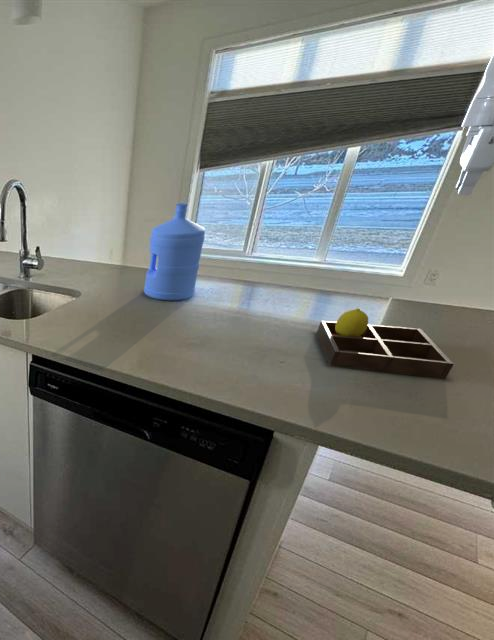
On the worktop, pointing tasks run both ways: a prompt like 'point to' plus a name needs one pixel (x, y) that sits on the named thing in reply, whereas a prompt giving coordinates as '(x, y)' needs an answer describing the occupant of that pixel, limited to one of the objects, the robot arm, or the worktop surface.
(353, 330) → the lemon
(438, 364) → the grid
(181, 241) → the water jug
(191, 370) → the worktop surface
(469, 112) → the robot arm
